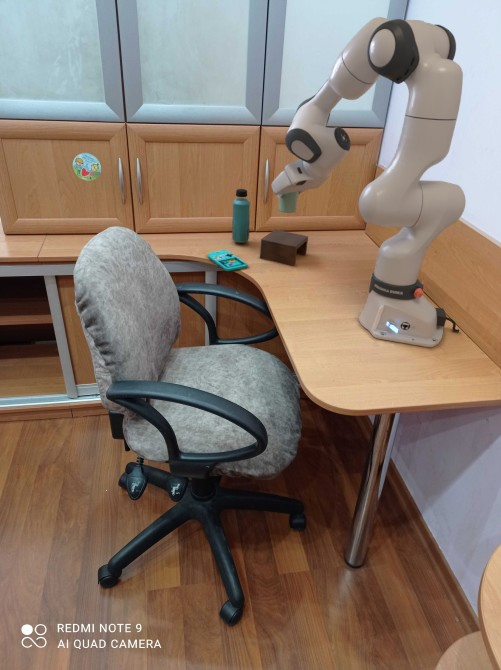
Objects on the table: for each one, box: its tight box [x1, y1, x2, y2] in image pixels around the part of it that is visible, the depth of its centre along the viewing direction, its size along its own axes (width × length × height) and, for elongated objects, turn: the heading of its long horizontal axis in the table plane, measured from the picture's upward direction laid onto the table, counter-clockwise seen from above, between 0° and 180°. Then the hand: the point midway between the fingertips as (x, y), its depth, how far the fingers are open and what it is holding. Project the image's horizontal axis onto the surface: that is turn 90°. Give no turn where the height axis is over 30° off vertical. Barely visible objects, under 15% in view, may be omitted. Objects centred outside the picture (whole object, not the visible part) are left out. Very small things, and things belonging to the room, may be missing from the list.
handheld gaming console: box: [207, 249, 248, 272], centre depth 164 cm, size 8×1×15 cm
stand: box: [259, 229, 309, 267], centre depth 168 cm, size 13×12×7 cm
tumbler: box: [277, 191, 299, 214], centre depth 158 cm, size 6×6×9 cm
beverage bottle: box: [231, 188, 251, 243], centre depth 174 cm, size 6×7×20 cm
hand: (287, 194), depth 158 cm, fingers closed on tumbler, 6 cm apart
